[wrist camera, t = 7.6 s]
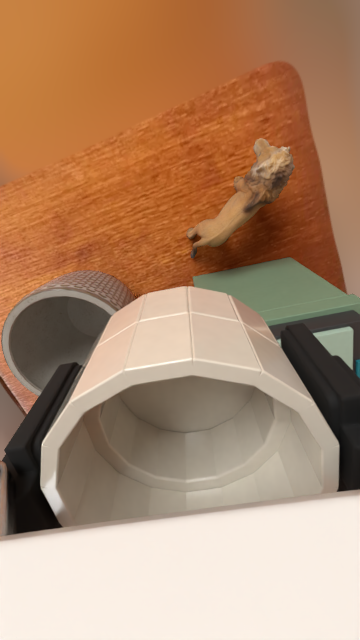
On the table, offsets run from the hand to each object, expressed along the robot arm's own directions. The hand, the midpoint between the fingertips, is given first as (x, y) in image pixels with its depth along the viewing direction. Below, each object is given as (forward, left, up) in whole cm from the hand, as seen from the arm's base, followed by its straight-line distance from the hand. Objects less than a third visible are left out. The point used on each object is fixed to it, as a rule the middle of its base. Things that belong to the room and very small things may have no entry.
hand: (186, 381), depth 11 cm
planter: (+13, +7, -32) cm, 35 cm away
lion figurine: (-7, -3, -32) cm, 32 cm away
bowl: (0, 0, -1) cm, 1 cm away
